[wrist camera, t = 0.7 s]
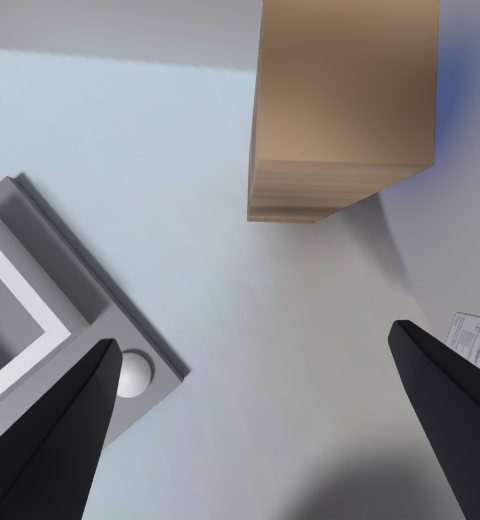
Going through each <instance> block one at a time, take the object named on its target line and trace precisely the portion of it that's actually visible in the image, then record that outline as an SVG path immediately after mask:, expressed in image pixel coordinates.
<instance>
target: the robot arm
mask: <svg viewBox="0 0 480 520" xmlns="http://www.w3.org/2000/svg"><path fill="white" fill-rule="evenodd" d="M388 344H389V347H390V350H391V352H392V355H393V358H394V361H395V364H396V367H397V369H398V372H399V375H400V378H401V381H402V384H403V386H404V389H405V391H406V393H407V396H408V398H409V400H410V402H411V404H412V406H413V408H414V410H415V413H416V415H417V417H418V419H419V421H420V423H421V425H422V427H423V429H424V431H425V434H426V436H427V438H428V440H429V442H430V444H431V446H432V448H433V450H434V453H435V455H436V457H437V459H438V461H439V463H440V465H441V467H442V469H443V472H444V474H445V476H446V478H447V480H448V482H449V484H450V486H451V488H452V490H453V493H454V495H455V497H456V499H457V501H458V503H459V505H460V507H461V509H462V512H463V514H464V516H465V518H466V520H480V368H478V367H477V366H475V365H474V364H472V363H471V362H469V361H468V360H467V359H465V358H464V357H462V356H461V355H459V354H458V353H456V352H455V351H453V350H452V349H451V348H449V347H448V346H446V345H445V344H443V343H442V342H440V341H439V340H437V339H436V338H435V337H433V336H432V335H430V334H429V333H427V332H426V331H424V330H423V329H421V328H420V327H418V326H417V325H416V324H414V323H413V322H411V321H409V320H396V321H394V322H393V325H392V328H391V330H390V333H389V336H388ZM122 362H123V354H122V352H121V349H120V347H119V345H118V343H117V340H116V339H115V338H103V339H101V340H99V341H98V342H97V343H96V344H95V345H94V346H93V347H92V348H91V349H90V350H89V351H88V352H87V353H86V354H85V355H84V356H83V357H82V358H81V359H80V360H79V361H78V362H76V363H75V364H74V365H73V366H72V367H71V368H70V369H69V370H68V371H67V372H66V373H65V374H64V375H63V376H62V377H61V378H60V379H59V380H58V381H57V382H56V383H55V384H54V385H53V386H52V387H51V388H49V389H48V390H47V391H46V392H45V393H44V394H43V395H42V396H41V397H40V398H39V399H38V400H37V401H36V402H35V403H34V404H33V405H32V406H31V407H30V408H29V409H28V410H27V411H26V412H25V413H24V414H23V415H21V416H20V417H19V418H18V419H17V420H16V421H15V422H14V423H13V424H12V425H11V426H10V427H9V428H8V429H7V430H6V431H5V432H4V433H3V434H2V435H1V436H0V520H81V519H82V516H83V512H84V509H85V506H86V502H87V499H88V495H89V492H90V488H91V485H92V482H93V478H94V475H95V471H96V468H97V465H98V461H99V458H100V454H101V451H102V448H103V444H104V441H105V437H106V434H107V431H108V427H109V424H110V420H111V417H112V413H113V410H114V406H115V401H116V395H117V390H118V384H119V379H120V373H121V368H122Z"/></svg>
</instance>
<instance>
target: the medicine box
mask: <svg viewBox="0 0 480 520" xmlns="http://www.w3.org/2000/svg"><path fill="white" fill-rule="evenodd" d="M445 345H446V346H448V347H449V348H451V349H452V350H453V351H455V352H456V353H458V354H459V355H461V356H462V357H464V358H465V359H467V360H468V361H469V362H471V363H472V364H474V365H475V366H477V367H478V368H480V316H475V315H470V314H466V313H460V312H457V313H456V314H455V317H454V320H453V323H452V325H451V328H450V331H449V334H448V336H447V339H446V342H445Z"/></svg>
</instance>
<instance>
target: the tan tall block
mask: <svg viewBox="0 0 480 520" xmlns="http://www.w3.org/2000/svg"><path fill="white" fill-rule="evenodd" d="M439 2H440V0H263V8H262V19H261V30H260V41H259V52H258V63H257V74H256V85H255V96H254V107H253V119H252V130H251V141H250V152H249V176H248V207H247V221H252V222H284V223H314V222H316V221H318V220H320V219H322V218H325V217H327V216H329V215H331V214H333V213H335V212H337V211H339V210H341V209H343V208H345V207H347V206H350V205H352V204H354V203H356V202H358V201H360V200H362V199H364V198H366V197H368V196H370V195H372V194H375V193H377V192H379V191H381V190H383V189H385V188H387V187H389V186H391V185H393V184H395V183H398V182H400V181H402V180H404V179H406V178H408V177H410V176H412V175H414V174H416V173H418V172H420V171H422V170H424V169H427V168H429V167H431V166H433V165H434V143H435V115H436V87H437V59H438V32H439V31H438V30H439V4H440V3H439Z"/></svg>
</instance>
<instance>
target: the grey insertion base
mask: <svg viewBox="0 0 480 520" xmlns="http://www.w3.org/2000/svg"><path fill="white" fill-rule="evenodd" d="M103 338H115V339H116V340H117V343H118V345H119V347H120V349H121V352H122V354H123V362H122V368H121V373H120V379H119V384H118V390H117V395H116V401H115V406H114V410H113V413H112V417H111V420H110V424H109V427H108V431H107V434H106V437H105V441H104V444H103V448H102V450H103V449H104V448H105V447H107V446H108V445H109V444H110V443H111V442H112V441H114V440H115V439H116V438H117V437H118V436H120V435H121V434H122V433H123V432H124V431H126V430H127V429H128V428H129V427H130V426H131V425H133V424H134V423H135V422H136V421H137V420H139V419H140V418H141V417H142V416H143V415H144V414H146V413H147V412H148V411H149V410H150V409H152V408H153V407H154V406H155V405H156V404H158V403H159V402H160V401H161V400H162V399H163V398H165V397H166V396H167V395H168V394H169V393H171V392H172V391H173V390H174V389H175V388H177V387H178V386H179V385H180V384H181V383H182V382H183V380H184V378H183V376H182V375H181V374H180V373H179V372H178V371H177V369H176V368H175V367H174V366H173V365H172V363H171V362H170V361H169V360H168V359H167V358H166V356H165V355H164V354H163V353H162V352H161V350H160V349H159V348H158V347H157V346H156V345H155V343H154V342H153V341H152V340H151V339H150V337H149V336H148V335H147V334H146V333H145V332H144V330H143V329H142V328H141V327H140V326H139V324H138V323H137V322H136V321H135V320H134V319H133V317H132V316H131V315H130V314H129V313H128V312H127V310H126V309H125V308H124V307H123V306H122V304H121V303H120V302H119V301H118V300H117V299H116V297H115V296H114V295H113V294H112V293H111V291H110V290H109V289H108V288H107V287H106V286H105V284H104V283H103V282H102V281H101V280H100V278H99V277H98V276H97V275H96V274H95V273H94V271H93V270H92V269H91V268H90V267H89V265H88V264H87V263H86V262H85V261H84V260H83V258H82V257H81V256H80V255H79V254H78V253H77V251H76V250H75V249H74V248H73V247H72V245H71V244H70V243H69V242H68V241H67V240H66V238H65V237H64V236H63V235H62V234H61V232H60V231H59V230H58V229H57V228H56V227H55V225H54V224H53V223H52V222H51V221H50V219H49V218H48V217H47V216H46V215H45V214H44V212H43V211H42V210H41V209H40V208H39V206H38V205H37V204H36V203H35V202H34V201H33V199H32V198H31V197H30V196H29V195H28V194H27V192H26V191H25V190H24V189H23V188H22V186H21V185H20V184H19V183H18V182H17V181H16V179H14V178H11V177H8V176H6V177H5V178H4V179H3V180H2V181H1V182H0V436H1V435H2V434H3V433H4V432H5V431H6V430H7V429H8V428H9V427H10V426H11V425H12V424H13V423H14V422H15V421H16V420H17V419H18V418H19V417H20V416H21V415H23V414H24V413H25V412H26V411H27V410H28V409H29V408H30V407H31V406H32V405H33V404H34V403H35V402H36V401H37V400H38V399H39V398H40V397H41V396H42V395H43V394H44V393H45V392H46V391H47V390H48V389H49V388H51V387H52V386H53V385H54V384H55V383H56V382H57V381H58V380H59V379H60V378H61V377H62V376H63V375H64V374H65V373H66V372H67V371H68V370H69V369H70V368H71V367H72V366H73V365H74V364H75V363H76V362H78V361H79V360H80V359H81V358H82V357H83V356H84V355H85V354H86V353H87V352H88V351H89V350H90V349H91V348H92V347H93V346H94V345H95V344H96V343H97V342H98V341H99V340H101V339H103Z"/></svg>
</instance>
